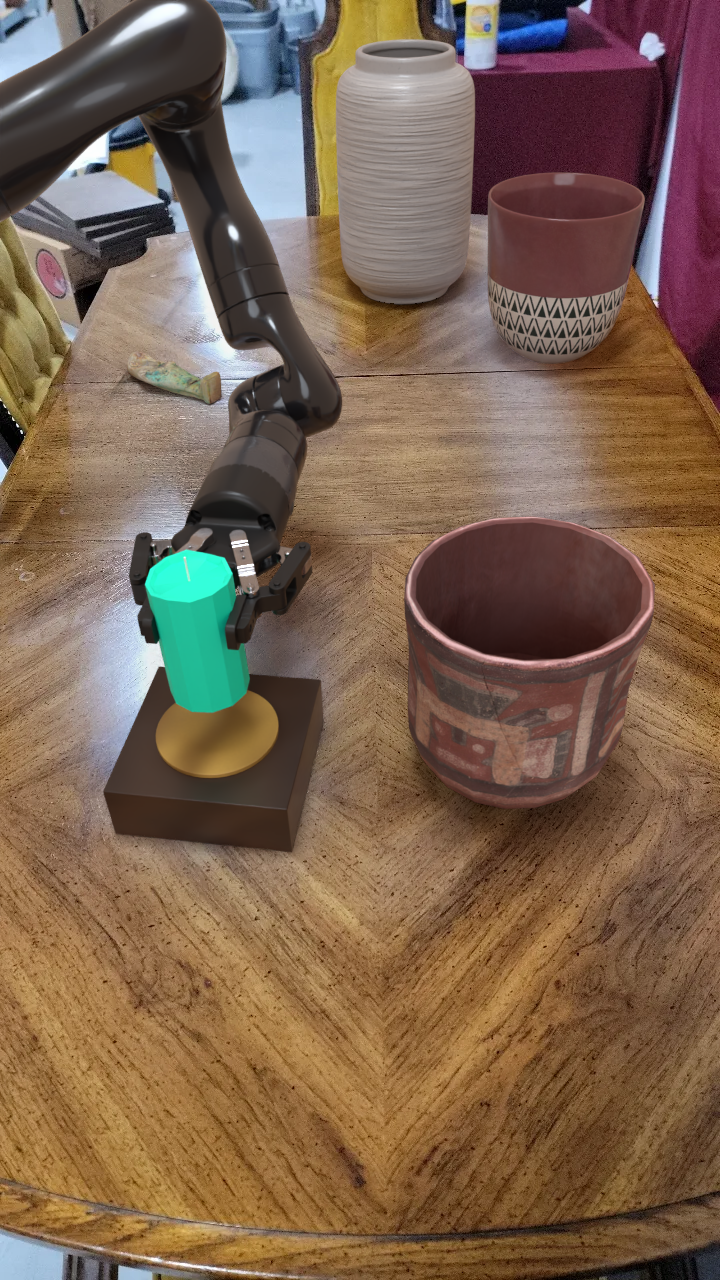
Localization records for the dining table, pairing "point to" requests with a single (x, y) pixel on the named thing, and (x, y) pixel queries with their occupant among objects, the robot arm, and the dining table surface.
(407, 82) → the vase
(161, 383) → the figurine
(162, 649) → the candle
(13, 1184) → the dining table surface
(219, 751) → the stand
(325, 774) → the dining table surface
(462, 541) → the pottery
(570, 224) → the planter
